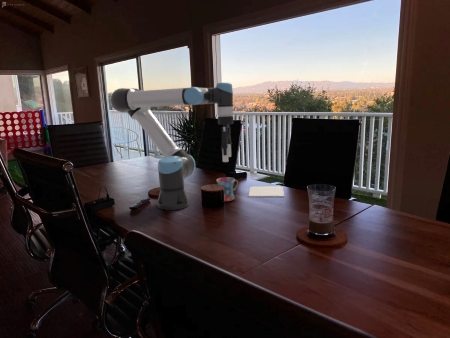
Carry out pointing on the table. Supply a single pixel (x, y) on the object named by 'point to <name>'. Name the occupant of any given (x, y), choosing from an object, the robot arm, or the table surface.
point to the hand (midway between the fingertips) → (227, 159)
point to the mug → (227, 187)
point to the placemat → (266, 191)
